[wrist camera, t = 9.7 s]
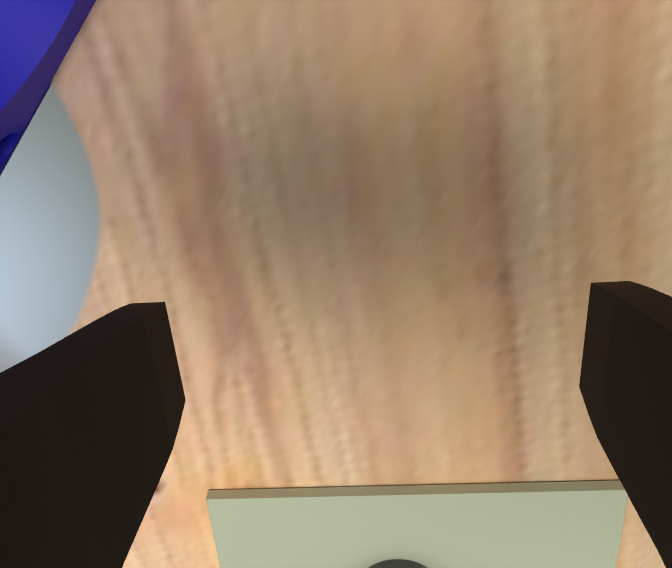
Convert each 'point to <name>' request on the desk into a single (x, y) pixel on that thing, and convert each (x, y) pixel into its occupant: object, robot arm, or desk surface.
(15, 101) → the cable clip
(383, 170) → the desk surface
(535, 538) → the desk mat
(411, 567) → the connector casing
